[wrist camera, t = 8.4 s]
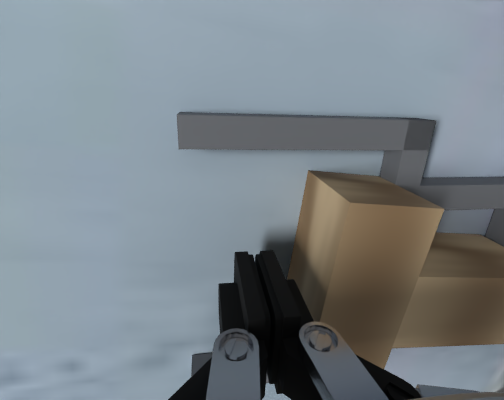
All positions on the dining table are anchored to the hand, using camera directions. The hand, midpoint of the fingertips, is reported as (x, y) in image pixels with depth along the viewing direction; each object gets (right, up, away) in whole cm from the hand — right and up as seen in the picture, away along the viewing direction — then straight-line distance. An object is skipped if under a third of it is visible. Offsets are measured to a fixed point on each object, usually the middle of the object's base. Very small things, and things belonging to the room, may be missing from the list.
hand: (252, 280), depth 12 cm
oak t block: (+7, 0, +3) cm, 8 cm away
